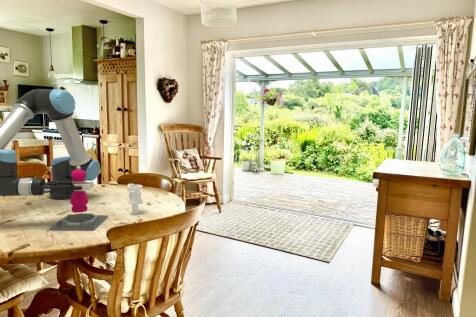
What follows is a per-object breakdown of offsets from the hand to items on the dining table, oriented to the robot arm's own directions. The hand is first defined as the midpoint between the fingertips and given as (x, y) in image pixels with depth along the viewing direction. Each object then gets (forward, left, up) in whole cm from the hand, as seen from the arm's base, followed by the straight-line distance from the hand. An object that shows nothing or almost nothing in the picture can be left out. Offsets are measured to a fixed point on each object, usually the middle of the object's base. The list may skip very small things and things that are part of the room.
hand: (91, 186), depth 144 cm
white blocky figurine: (-15, +15, -17) cm, 27 cm away
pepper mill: (+1, -5, -11) cm, 12 cm away
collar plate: (+1, -5, -17) cm, 18 cm away
